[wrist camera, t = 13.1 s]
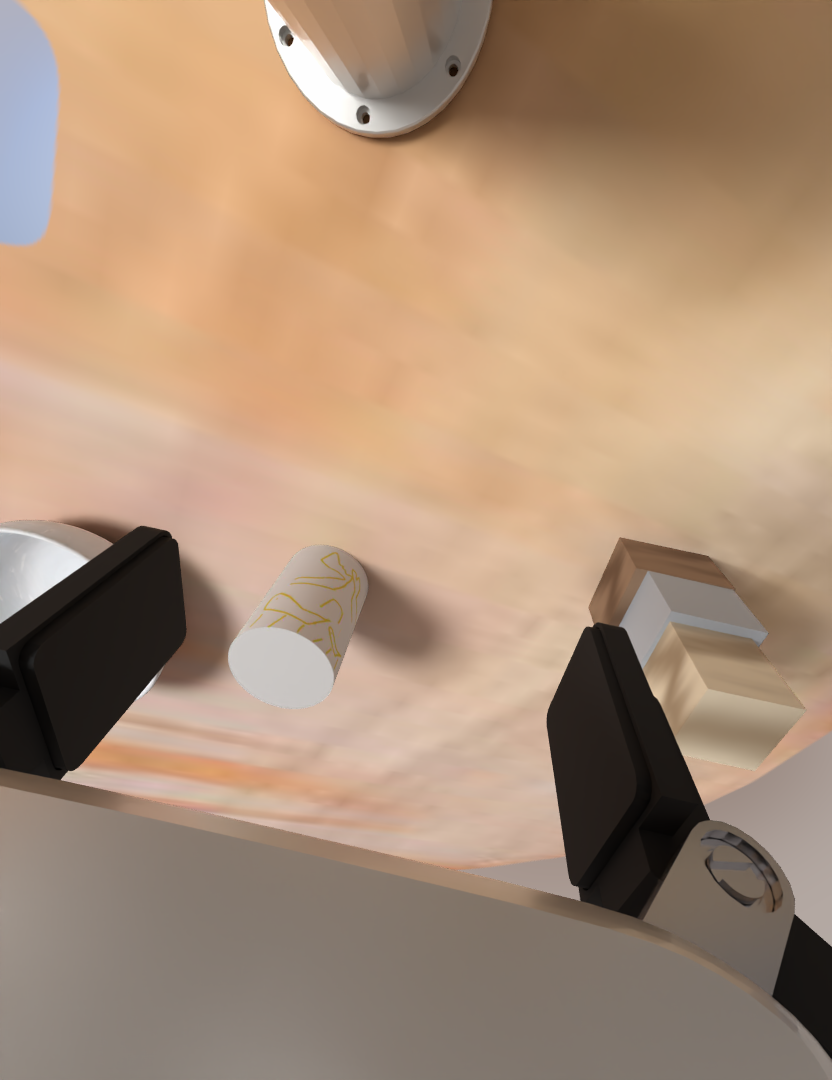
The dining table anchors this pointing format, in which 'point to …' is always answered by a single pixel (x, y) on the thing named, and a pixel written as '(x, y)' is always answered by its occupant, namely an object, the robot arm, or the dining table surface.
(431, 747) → the dining table surface
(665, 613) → the grey block
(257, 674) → the cup
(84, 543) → the serving bowl
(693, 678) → the maple cube
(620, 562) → the walnut block
